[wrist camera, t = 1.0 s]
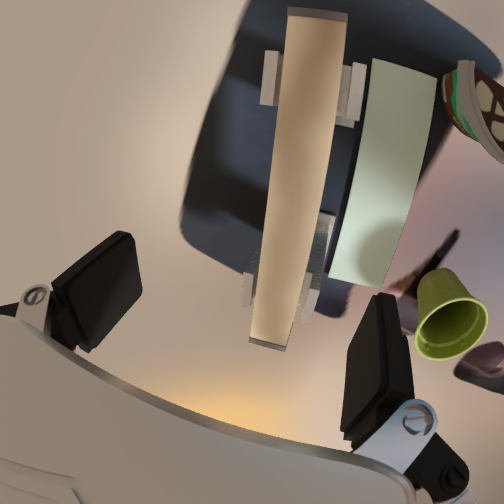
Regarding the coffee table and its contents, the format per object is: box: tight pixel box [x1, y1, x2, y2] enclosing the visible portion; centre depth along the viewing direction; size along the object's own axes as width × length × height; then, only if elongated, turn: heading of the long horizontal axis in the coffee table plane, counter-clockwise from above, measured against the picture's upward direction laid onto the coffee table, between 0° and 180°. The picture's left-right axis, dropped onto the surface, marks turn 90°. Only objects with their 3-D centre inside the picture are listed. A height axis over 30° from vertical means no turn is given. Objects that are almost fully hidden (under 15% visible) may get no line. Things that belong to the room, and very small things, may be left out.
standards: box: [241, 50, 367, 324], centre depth 23 cm, size 7×22×13 cm, turn 175°
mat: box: [328, 58, 437, 289], centre depth 27 cm, size 7×26×1 cm, turn 175°
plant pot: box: [414, 268, 488, 360], centre depth 27 cm, size 9×9×9 cm
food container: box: [441, 60, 504, 164], centre depth 16 cm, size 12×6×10 cm, turn 78°
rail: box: [249, 7, 348, 352], centre depth 18 cm, size 3×25×3 cm, turn 175°
